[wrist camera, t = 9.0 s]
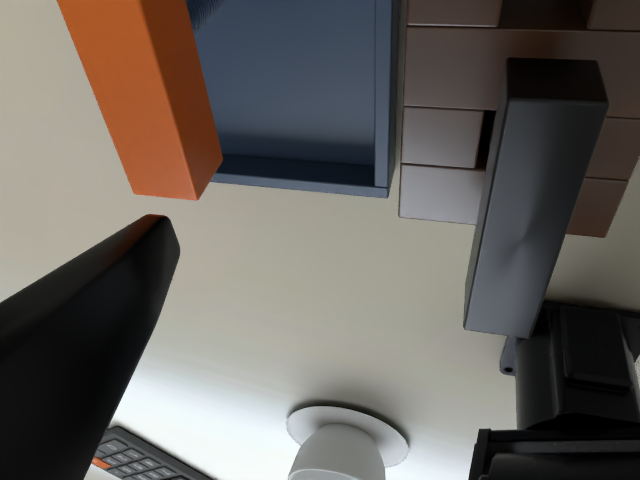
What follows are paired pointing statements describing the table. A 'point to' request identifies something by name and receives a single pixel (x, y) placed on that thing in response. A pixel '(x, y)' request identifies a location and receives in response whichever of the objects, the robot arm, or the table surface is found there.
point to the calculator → (138, 459)
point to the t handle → (151, 88)
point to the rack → (484, 88)
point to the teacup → (342, 445)
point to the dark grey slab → (531, 187)
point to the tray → (304, 93)
